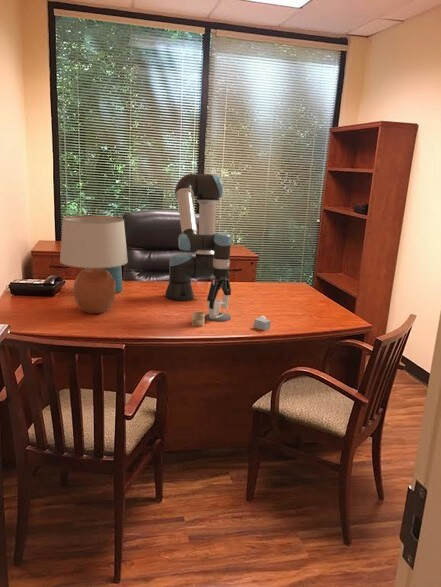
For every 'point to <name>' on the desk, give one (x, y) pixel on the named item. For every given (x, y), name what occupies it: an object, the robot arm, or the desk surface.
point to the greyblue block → (262, 324)
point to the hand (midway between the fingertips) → (218, 311)
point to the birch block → (198, 318)
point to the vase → (116, 277)
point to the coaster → (222, 318)
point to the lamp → (93, 258)
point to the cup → (217, 308)
